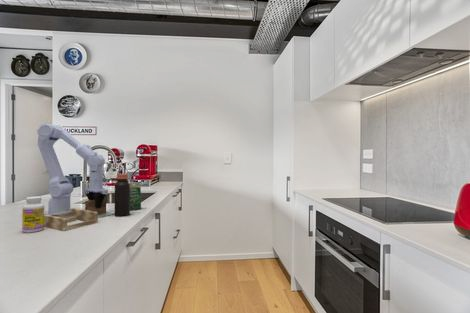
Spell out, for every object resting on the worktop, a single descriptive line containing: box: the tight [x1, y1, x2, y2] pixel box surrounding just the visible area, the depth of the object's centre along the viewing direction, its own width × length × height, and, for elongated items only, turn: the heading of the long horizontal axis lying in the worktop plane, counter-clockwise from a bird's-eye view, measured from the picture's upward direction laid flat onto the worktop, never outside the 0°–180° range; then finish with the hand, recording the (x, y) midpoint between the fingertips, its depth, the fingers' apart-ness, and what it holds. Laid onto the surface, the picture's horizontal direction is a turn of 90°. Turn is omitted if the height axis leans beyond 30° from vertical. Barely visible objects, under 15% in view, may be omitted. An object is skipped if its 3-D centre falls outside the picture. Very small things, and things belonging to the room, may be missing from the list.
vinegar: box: [114, 173, 131, 217], centre depth 125 cm, size 7×7×20 cm
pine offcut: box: [67, 216, 77, 224], centre depth 111 cm, size 5×9×2 cm, turn 158°
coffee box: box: [130, 184, 142, 211], centre depth 137 cm, size 8×3×13 cm, turn 122°
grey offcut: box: [51, 211, 72, 219], centre depth 111 cm, size 4×7×2 cm, turn 174°
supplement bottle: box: [21, 195, 45, 234], centre depth 99 cm, size 7×7×13 cm
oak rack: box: [44, 207, 99, 232], centre depth 109 cm, size 18×14×4 cm
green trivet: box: [98, 211, 115, 219], centre depth 125 cm, size 12×12×1 cm
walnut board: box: [84, 197, 107, 214], centre depth 125 cm, size 3×9×7 cm, turn 153°
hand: (95, 207), depth 125 cm, fingers open, 3 cm apart
